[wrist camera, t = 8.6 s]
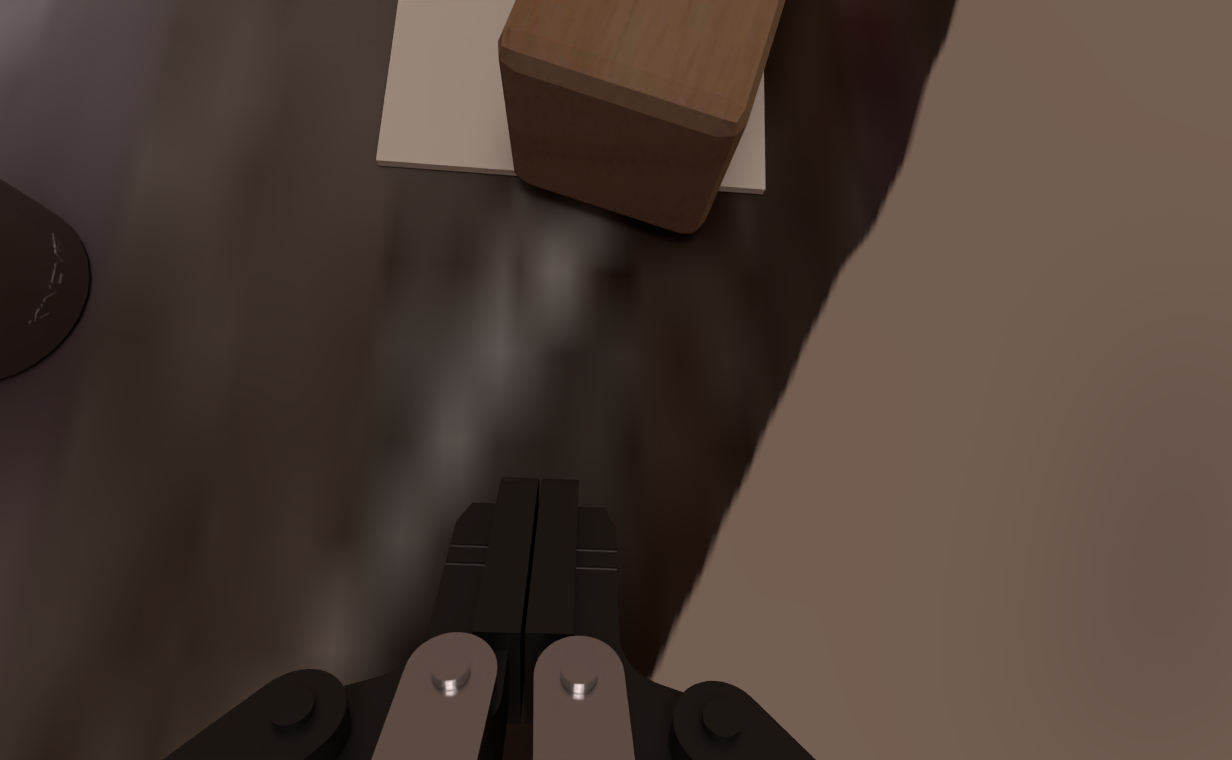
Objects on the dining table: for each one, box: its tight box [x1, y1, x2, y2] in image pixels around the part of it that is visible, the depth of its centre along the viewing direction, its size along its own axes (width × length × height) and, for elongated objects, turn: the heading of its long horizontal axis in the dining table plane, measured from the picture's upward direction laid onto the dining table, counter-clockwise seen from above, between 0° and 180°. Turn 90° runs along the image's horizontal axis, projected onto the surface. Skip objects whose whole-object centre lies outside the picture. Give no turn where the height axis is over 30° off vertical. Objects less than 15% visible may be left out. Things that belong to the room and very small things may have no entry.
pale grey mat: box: [376, 0, 765, 194], centre depth 37 cm, size 20×19×1 cm
